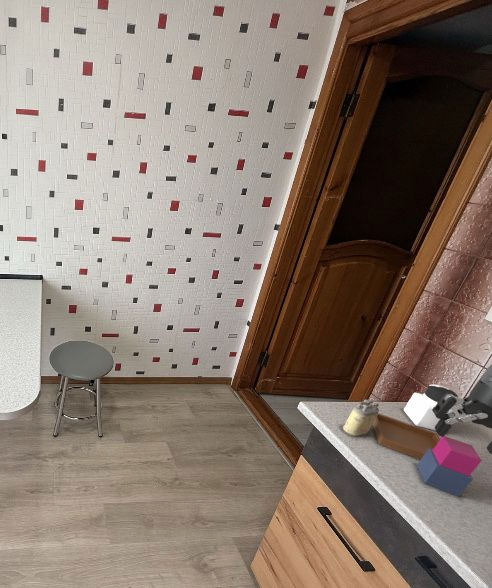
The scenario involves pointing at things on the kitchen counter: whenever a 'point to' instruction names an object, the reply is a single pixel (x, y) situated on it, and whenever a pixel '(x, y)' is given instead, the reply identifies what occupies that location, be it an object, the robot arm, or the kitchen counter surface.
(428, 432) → the tray
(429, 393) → the medicine bottle
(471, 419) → the robot arm
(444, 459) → the mulberry block
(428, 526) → the kitchen counter surface
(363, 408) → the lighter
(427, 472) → the slate block
